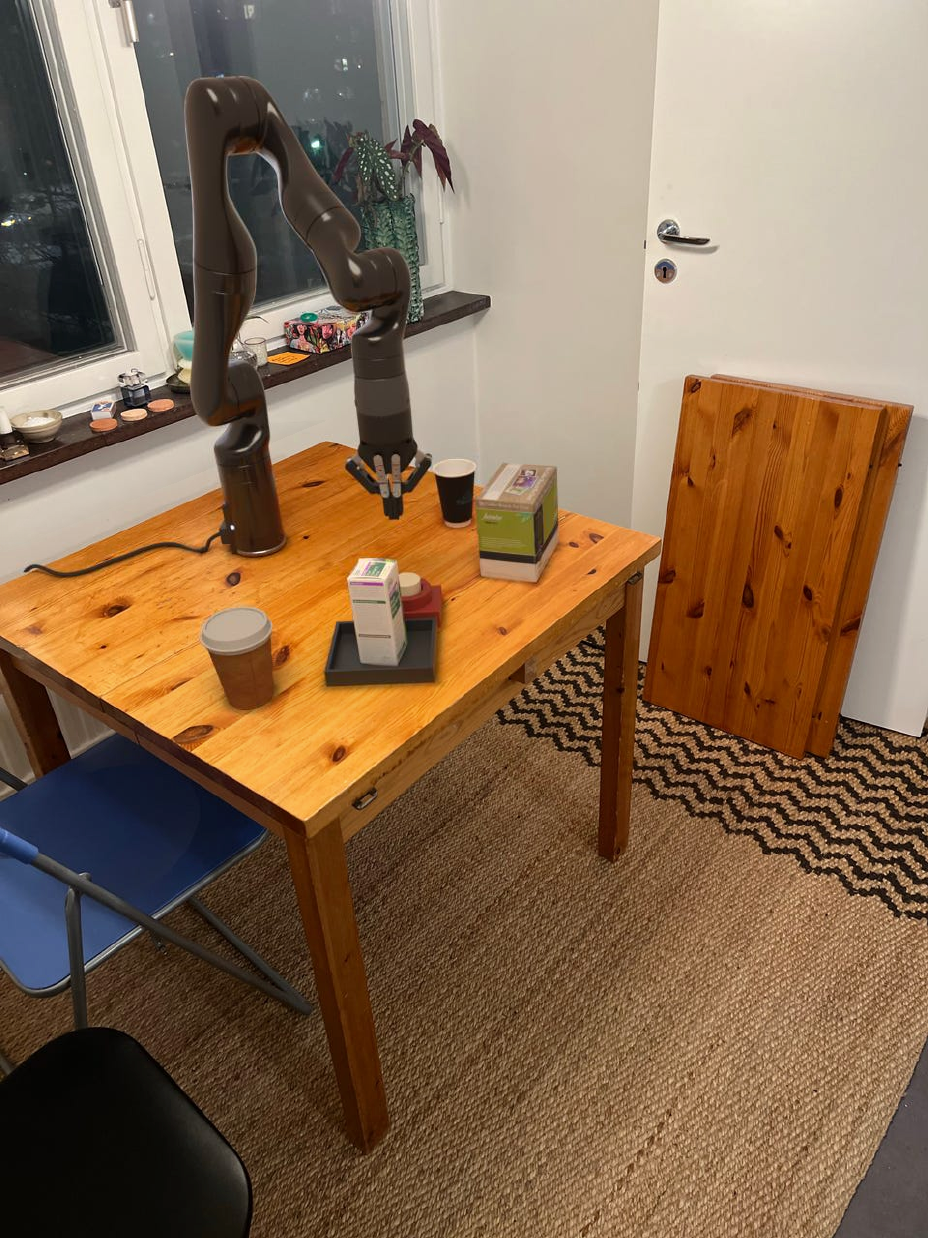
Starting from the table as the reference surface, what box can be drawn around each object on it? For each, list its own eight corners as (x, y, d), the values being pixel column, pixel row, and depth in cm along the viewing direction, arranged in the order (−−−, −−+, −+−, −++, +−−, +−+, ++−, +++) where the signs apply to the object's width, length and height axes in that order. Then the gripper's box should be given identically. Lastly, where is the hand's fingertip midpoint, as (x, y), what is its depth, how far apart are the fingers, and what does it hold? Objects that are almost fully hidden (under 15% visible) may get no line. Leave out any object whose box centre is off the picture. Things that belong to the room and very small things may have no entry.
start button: (391, 598, 139) (390, 587, 138) (394, 583, 142) (392, 572, 141) (420, 597, 138) (419, 585, 137) (422, 582, 142) (421, 571, 141)
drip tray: (326, 687, 128) (324, 672, 127) (338, 635, 139) (336, 621, 138) (434, 682, 127) (433, 667, 126) (437, 631, 139) (436, 616, 137)
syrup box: (398, 667, 130) (387, 578, 122) (358, 664, 131) (345, 576, 124) (408, 645, 135) (398, 558, 127) (369, 642, 136) (358, 556, 128)
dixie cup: (473, 532, 166) (469, 476, 160) (431, 529, 168) (426, 474, 162) (483, 514, 172) (480, 459, 167) (443, 511, 174) (439, 457, 168)
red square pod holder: (375, 630, 140) (372, 602, 137) (380, 603, 146) (376, 576, 144) (440, 628, 139) (438, 600, 137) (442, 601, 146) (440, 573, 143)
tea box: (505, 537, 164) (502, 460, 156) (560, 543, 160) (560, 464, 153) (478, 577, 152) (473, 496, 144) (536, 585, 149) (535, 502, 141)
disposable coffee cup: (221, 679, 131) (204, 608, 125) (288, 673, 131) (274, 601, 125) (211, 720, 123) (192, 646, 117) (282, 713, 123) (267, 639, 117)
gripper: (432, 393, 129) (439, 504, 138) (338, 397, 129) (352, 508, 138) (429, 411, 122) (438, 527, 132) (331, 415, 123) (346, 530, 132)
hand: (394, 517), depth 135 cm, fingers closed
